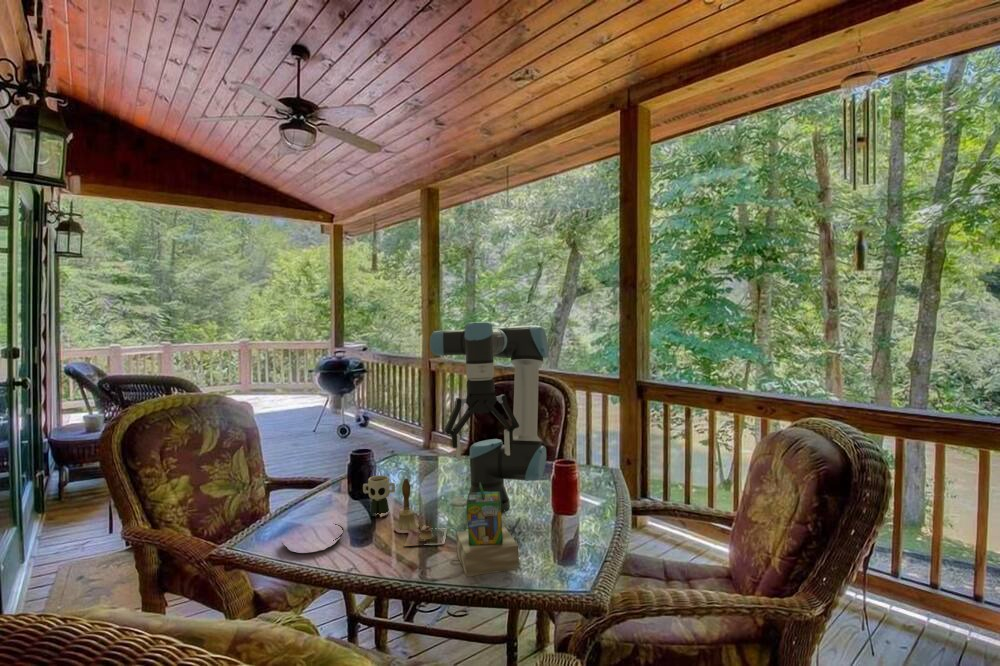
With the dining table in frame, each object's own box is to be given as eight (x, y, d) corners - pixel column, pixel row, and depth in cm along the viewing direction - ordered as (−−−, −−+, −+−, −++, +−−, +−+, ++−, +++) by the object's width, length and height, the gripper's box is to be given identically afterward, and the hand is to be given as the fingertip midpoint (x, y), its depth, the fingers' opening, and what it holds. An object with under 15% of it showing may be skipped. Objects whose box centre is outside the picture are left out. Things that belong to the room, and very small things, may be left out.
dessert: (447, 531, 160) (447, 516, 160) (444, 547, 148) (444, 531, 148) (409, 533, 160) (408, 517, 160) (403, 549, 148) (402, 533, 148)
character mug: (361, 520, 171) (359, 481, 171) (366, 512, 178) (365, 475, 178) (393, 519, 171) (392, 480, 171) (397, 511, 178) (396, 474, 178)
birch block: (456, 553, 143) (456, 532, 143) (504, 546, 146) (504, 525, 146) (466, 576, 129) (465, 553, 129) (519, 568, 133) (518, 545, 133)
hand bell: (410, 522, 168) (408, 473, 168) (425, 528, 162) (423, 478, 162) (388, 529, 162) (386, 479, 162) (403, 536, 156) (401, 484, 156)
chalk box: (503, 545, 133) (501, 488, 133) (468, 546, 133) (466, 490, 133) (502, 531, 143) (500, 478, 142) (469, 532, 142) (467, 479, 142)
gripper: (436, 383, 131) (439, 465, 131) (528, 377, 137) (531, 455, 137) (432, 380, 138) (435, 458, 138) (520, 374, 144) (523, 449, 145)
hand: (483, 457), depth 138 cm, fingers open, 13 cm apart
